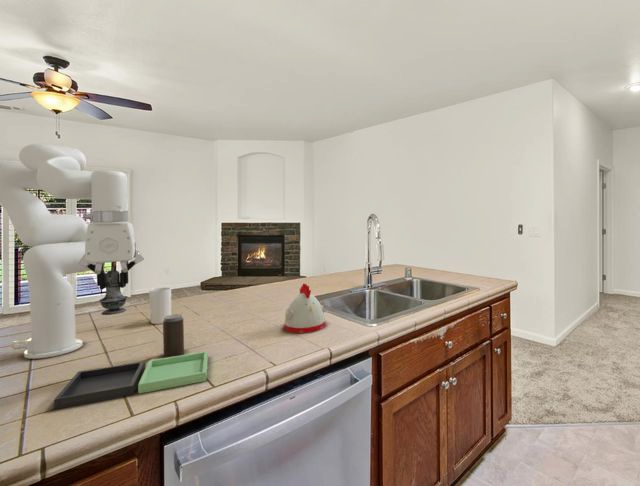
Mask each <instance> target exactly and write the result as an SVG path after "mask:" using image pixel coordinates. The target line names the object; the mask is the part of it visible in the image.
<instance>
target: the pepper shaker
mask: <svg viewBox="0 0 640 486" xmlns="http://www.w3.org/2000/svg"><path fill="white" fill-rule="evenodd" d="M184 325H185V324H184V317H183V315H182V314H180V313H179V314H178V313H176V314H175V313H174V314H171V315H169V316H166V317H164V321H163V323H162V339H163V342H162V343H163V344H162V345H163V346H162V348H163V358H168V357H174V356H180V355H185V354H184V353H185V332H184V330H185V329H184V327H185V326H184Z"/></svg>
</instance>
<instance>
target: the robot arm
mask: <svg viewBox="0 0 640 486" xmlns="http://www.w3.org/2000/svg"><path fill="white" fill-rule="evenodd" d="M18 158H19V160H0V206H1V207H2V208H3V209H4V210H5V211H6V213H7V216H8V217H9V220H10V222H11V224H12V227H13V228H14V231H15V232H16V235H17V237H18V239H19V240H20V242H21V243H22V244H24V245H25V246H27V247H30V248H28V249H27V250H26V251H25V252H24V254H23V256H22V263H23V268H24V271H25V275H26V279H27V284H28V285H27V286H28V296H29V299H28V300H29V314H30V315H29V317H30V318H29V319H30V338H27V339H25V340H23V339H22V340H15V341H12V342H11V348H12V349H13V350H21V349H25V351H23V357H24V358H25V359H32V360H34V359H35V360H36V359H38V360H39V359H46V358H47V359H48V358H53V357H58V356H62V355H66V354H68V353H71V352H74V351H76V350H78V349H81V347H83V345H84V344H83V342H84V341H83V339H79V338H77V337H76V336H77V335H76V334H77V333H76V309H75V308H76V306H75V288H74V286H73V285H72V284H71V283H70V282H69V281H68V279H66V278H65V277H64V276H67V275H72V274H78V273H85V272H90V271H92V272H93V273H94V275H96V285H97V286H96V287H99V290H100V291H101V290H104V289H106V286H104V285H105V284H106V273H107V272H106V271H105V264H106V263H113V262H114V263H115V262H116V263H117V262H118V263H120V268H121V270H120V272H119V275H120V289H124V288H126V286H127V284H129V271H130V270H131V269H132V268H133V267H134V266H135V265H137V264H139V263H141V262H143V261H144V260H145V258H144V256H143V255H142V253H140V251H139V250H138V249H137V242H136V236H135V230H134V226H133V223H132V222H130V216H129V215H130V214H129V189H128V187H129V186H128V176H127V174H126V173H125V172H124V171H119V170H109V169H108V170H105V169H103V170H102V169H101V170H95V171H92V170H91V171H90V170H86V169H87V157H86V156H85V154H84V153H83V152H82V151H81V150H80V149H77V148H75V147H72V146H71V147H70V146H63V145H55V144H48V143H47V144H46V143H30V144H28V145H25V146H24V147H22V148H21V150H20V151H19V153H18ZM28 190H42V191H43V192H45V193H47V194H48V195H50V196H52V197H55V198H57V199H61V200H63V199H64V200H91V211H90V213H84V218H82V217H81V216H79V215H76V214H54V213H51V212H50V211H49V210H48V208H47V205H46V204H45V202H44V201H43V200H41V199H40V198H39V197H38V196H36V194H33V193H31V192H29V191H28ZM86 220H90V221H91V223H87V221H86ZM132 259H133V260H132ZM129 261H130V262H129Z"/></svg>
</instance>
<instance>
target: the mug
mask: <svg viewBox="0 0 640 486" xmlns="http://www.w3.org/2000/svg"><path fill="white" fill-rule="evenodd" d="M148 293H149V296H148V297H149V312H150V313H149V315H150V323H151V324H152V325H153V324H154V325H160V324H163V321H164V317H166V316H169V315H172V287H170V286H163V287H154V288H150V289H149V291H148Z"/></svg>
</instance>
